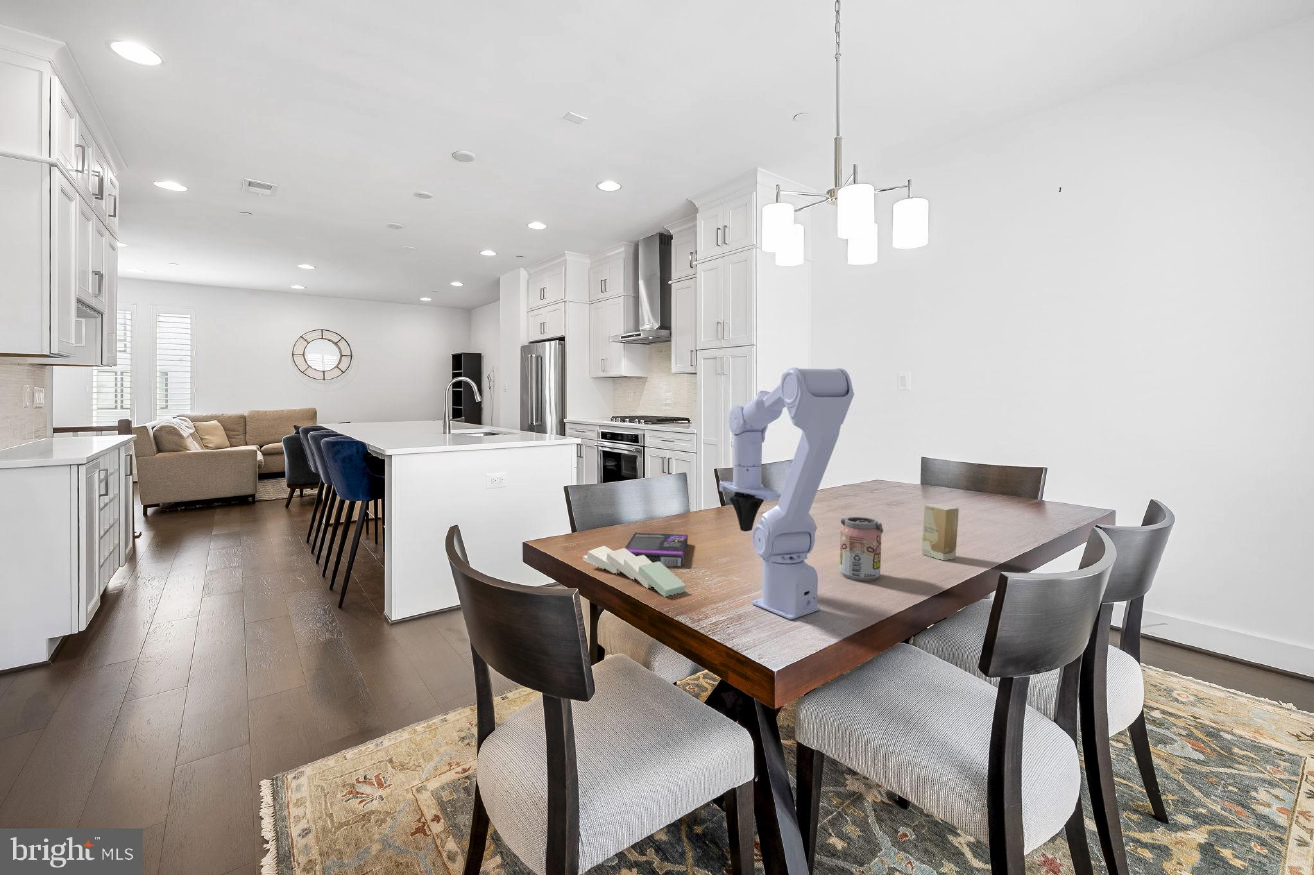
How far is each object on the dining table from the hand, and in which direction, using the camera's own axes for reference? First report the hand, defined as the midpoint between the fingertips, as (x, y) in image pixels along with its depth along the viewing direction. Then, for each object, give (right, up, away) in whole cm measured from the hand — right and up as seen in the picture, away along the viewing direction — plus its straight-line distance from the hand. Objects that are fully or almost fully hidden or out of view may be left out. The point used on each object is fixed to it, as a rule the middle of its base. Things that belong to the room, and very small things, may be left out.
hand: (746, 530), depth 115 cm
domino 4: (-18, -10, -4) cm, 21 cm away
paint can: (+25, -10, +4) cm, 27 cm away
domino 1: (-28, -10, +9) cm, 31 cm away
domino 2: (-25, -9, +6) cm, 28 cm away
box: (-18, -10, +20) cm, 29 cm away
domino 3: (-21, -10, +2) cm, 23 cm away
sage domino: (-15, -10, -8) cm, 20 cm away
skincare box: (+49, -9, +17) cm, 52 cm away
